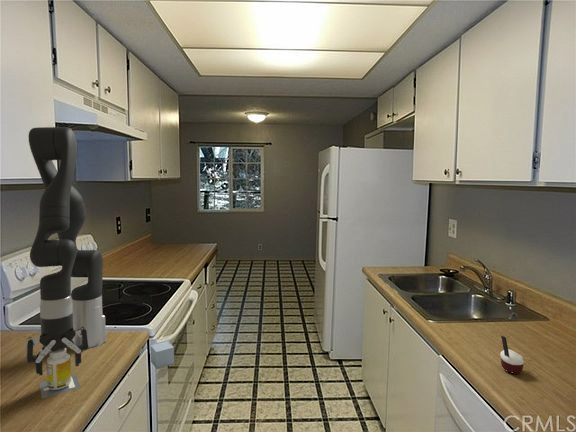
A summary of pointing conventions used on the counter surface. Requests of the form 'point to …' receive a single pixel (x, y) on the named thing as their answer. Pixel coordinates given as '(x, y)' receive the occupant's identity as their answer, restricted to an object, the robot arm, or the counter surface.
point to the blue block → (162, 354)
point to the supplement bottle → (58, 369)
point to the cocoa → (511, 359)
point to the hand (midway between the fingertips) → (59, 369)
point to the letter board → (48, 392)
